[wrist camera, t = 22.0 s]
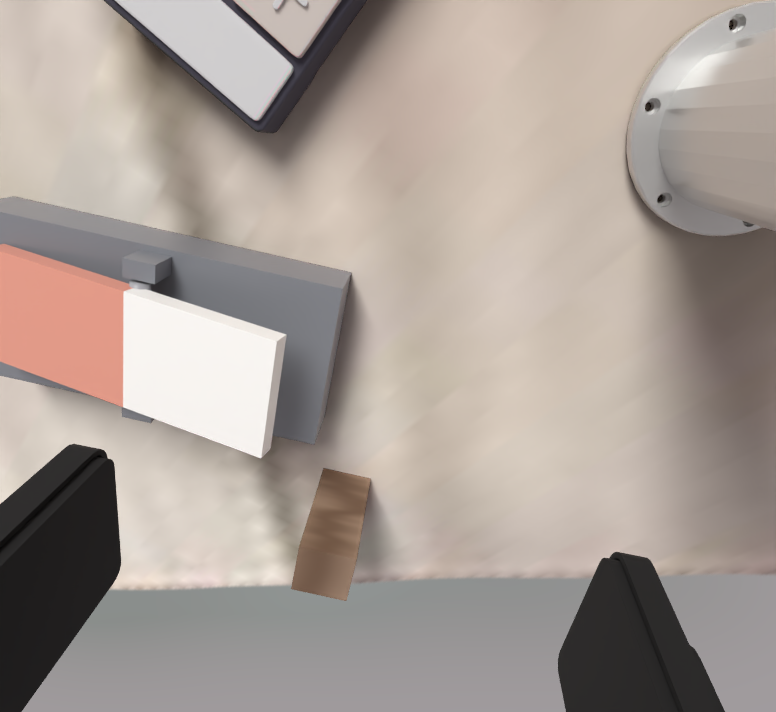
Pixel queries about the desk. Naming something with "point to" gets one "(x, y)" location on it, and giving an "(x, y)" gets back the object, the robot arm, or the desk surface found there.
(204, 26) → the calculator
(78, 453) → the robot arm
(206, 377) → the breaker rocker
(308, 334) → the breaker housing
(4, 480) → the desk surface
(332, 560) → the peg
